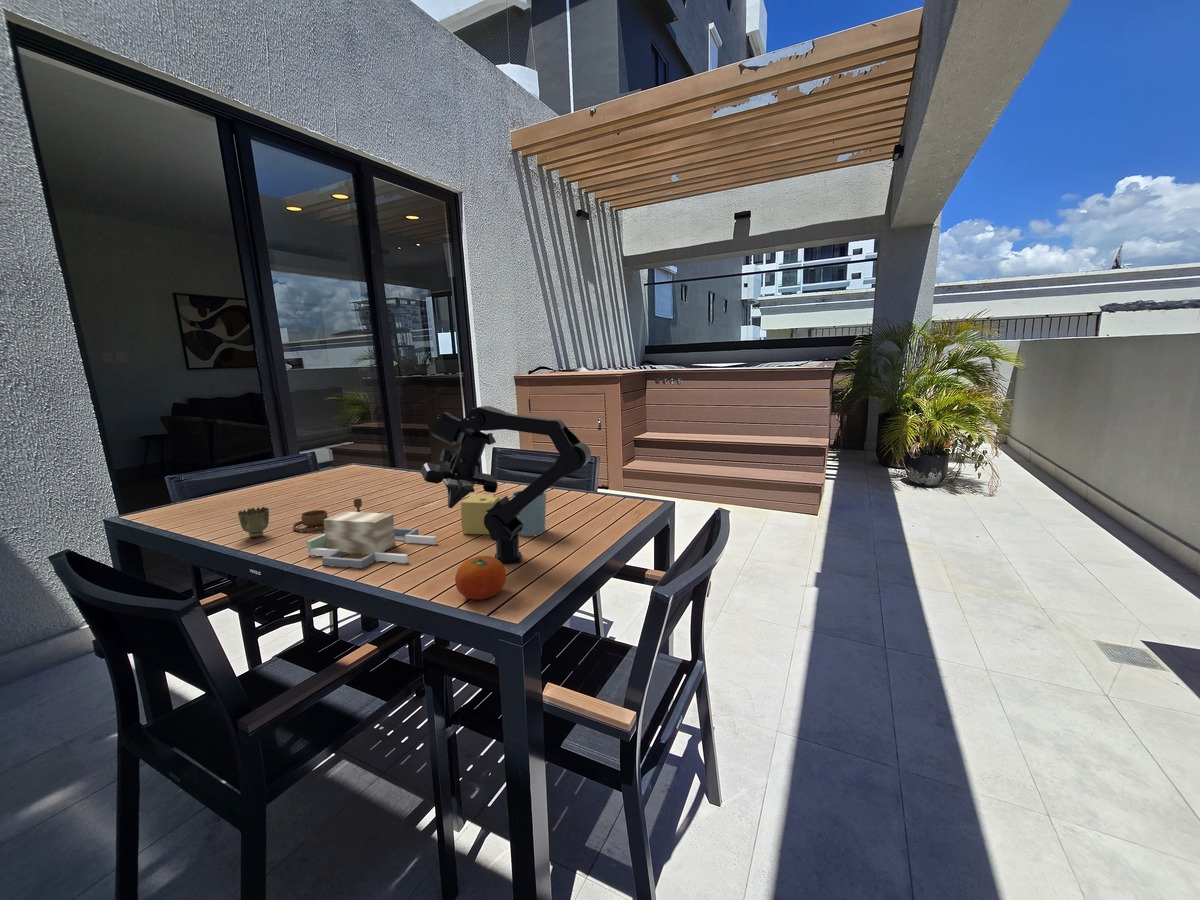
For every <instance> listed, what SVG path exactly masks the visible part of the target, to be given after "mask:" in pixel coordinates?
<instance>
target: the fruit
mask: <svg viewBox="0 0 1200 900" xmlns="http://www.w3.org/2000/svg"><path fill="white" fill-rule="evenodd" d="M506 580H507V571H506V567H505V566H504V563H503V564H502V562H501V561H499V560H498V559H496V558H495V556H491V555H478V556H474V557H471V558H468V559H466V560H465V561H463V562H462V563H461V564H460V565H459V566H458V569H457V570H456V573H455V577H454V582H455V586H456V590H457V591H458V592H459V594H461V595H462V596H463V597H465V598H467V599H468V600H470V599H471V600H485V599H488V598H491V597H493V596H495V595H496V594H498V593H499V592H500V591H501V590H502V589H503V587H504V586H505V583H506Z"/></svg>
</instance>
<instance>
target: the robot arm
mask: <svg viewBox="0 0 1200 900" xmlns="http://www.w3.org/2000/svg"><path fill="white" fill-rule="evenodd" d="M497 430H498V431H499V430H501V431H503V430H507V431H512V432H513V431H515V432H521V433H527V434H528V433H529V434H537V435H544V436H549V438H550V440H551V442H552V443H553V446H554V447H555V449H556V451H557V453H559V455H558V457H557V458H556V460H555V461H554V463H553V464H552V465H551V466H550V467H549V468H548V469H547V470H545V471H544V472H543V473H541V475H540V476H539V477H537V478H536V479H535V480H533V481H532V482H531V483H530V484H528V485H527V486H526V487H525V488H524V489H522V490H520V491H521V492H520V493H519V494H518V495H516V496H515V497H514V498H512V497H511V499H510V498H509V497H508V495H505V496H504V497H502V498H500V500H499V501H498V502H497V503H496V504H495V505H494V506H492V507H491V508H489V509H488V510H486V512H488V513H487V514H486V515H485V517H484V525H485V527H486V529H487V530H488V531H489V534H488V535H490V538H491V540H492V541H493V542H495V551H496V552H495V553H494V554H495V555H494V558H496V559H498V560H499V561H501V562H502V564H503V565H504V564H513V563H514V564H517V563H521V561H522V557H521V556H522V555H521V554H522V552H521V551H520V536H519V535H518V533H519V532H521V531H522V528H523V523H522V522H521V521H520V520H519V519H518V518H517V516H518V515H519V514H520V512H521V511H522V510H523V508H524V507H526V506H527V505H528V504H529V503H531V502H532V501H533V500H534V499H536V498H537V497H538V496H539V495H541V494H542V493H543V492H544V491H545V492H546V491H547V490H548V489H549V488H550V487H552V486H553V485H554V484H556V483H557V482H558V481H559V480H561V479H563V478H565V477H567V476H568V475H570V474H572V473H574V472H576V471H578V470H580V469H582V468H583V467H584V466H585V465H586V464H587V463H589V462H590V461H591V458H592V457H591V456H592V451H591V449H590V446H588V445H587V444H586V443H584V442H581V439H579V438H578V437H577V435H576V434H575V433H574V432H573V431H571V430H570V428H568V427H567V425H566V424H565V423H564V421H563V420H562V419H559V418H554V419H553V418H545V417H537V416H529V415H524V414H523V415H522V414H515V413H510V412H506V411H505V410H502V409H500V408H497V407H494V406H490V405H483V406H478V407H477V406H476V407H473V408H472V409H471V410H470V411H469V412H468V414H467V416H465V417H464V418H462V419H460V418H459V417H456V416H454V415H453V414H451V413H449V412H446V411H445V412H442V414H441V416H440V417H439V418H438V419H437V420H436V422H435V423H434V424H433V426H432V429H431V435H432V436H433V437H434V438H436V439H438V440H441V441H443V442H444V443H447V444H449V445H451V446H456V445H457V444H459V445H460V446H459V448H458V450H456V451H455V452H454V454H452V450H451V449H445V448H443V449H442V450H441V453H440V457H439V461H440V462H445V464H444V465H445V466H447V468H448V470H450V471H447V470H443V469H442V467H441V465H440V464H436V463H431V462H425V463H424V464H423V465H422V466H421V468H420V473H421V475H422V477H423V480H424V481H425V482H427V483H432V484H437V485H438V484H441V483H442V482H443V483H444V485H445V487H446V488H447V507H448V508H449V509H452V508H454V507H455V506H456V505H458V503H459V502H460V501H461V500H462V499H464V498H465V497H466V496H468V495H470V493H475V488H474V487H475V485H479V486H483V487H482V488H483V490H484V492H487V493H492V494H495V493H496V492H497V489H498V486H499V485H498V482H497V480H496V479H495V477H494V476H493V475H492V474H488V473H484V472H479V473H478V474H477V476H475V474H476V471H477V468H478V467H479V468H480V466H481V464H482V463H481V459H482V455H483V453H484V450H485V447H486V445H488V446H490V445H493V444H496V443H497V441H496V439H495V437H494V435H493V432H490V433H486V431H487V432H488V431H497ZM483 431H485V432H483Z"/></svg>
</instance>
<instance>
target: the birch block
mask: <svg viewBox="0 0 1200 900" xmlns="http://www.w3.org/2000/svg"><path fill="white" fill-rule="evenodd" d="M328 517H329V516H328ZM323 526H324V528H325V533H324V534H325V539H326V549H340V550H341V552H347V553H346V554H352V553H366V554H371V553H375V552H380V553H381V552H382V553H384V552H386V551H387V550H389V549H391V548H393V547H394V546H396V541H395V533H394V528H395V521H394V513H382V512H381V513H380V512H363V511H360V512H357V511H342V512H339V513H338V514H335V515H332V516H330V517H329V518H327V519H324V524H323ZM392 546H393V547H392ZM390 547H391V548H390ZM388 548H389V549H388ZM386 549H387V550H386ZM385 550H386V551H385ZM383 551H384V552H383ZM366 554H365V555H366Z"/></svg>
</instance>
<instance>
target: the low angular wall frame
mask: <svg viewBox="0 0 1200 900" xmlns="http://www.w3.org/2000/svg"><path fill="white" fill-rule="evenodd" d="M394 533H395V542H404V543H405V544H406V543H408V544H417V545H418V544H422V545H437V536H431V535H419V528H405V527H404V528H403V527H394ZM306 544H307V545H306V546H307V556H308V555H318V556H325V557H321V563H322V564H321V565H323V564H324V565H334V566H341V567H340V568H346V567H354V568H353V569H358V568H363V567H365V566H366V565H368V564H370V563H371V562H373V561H375V560H377V561H375V562H379V561H387V562H386V563H392V562H397V563H396V564H405V563H406V564H407V563H409V556H408V554H405V553H393V552H392V553H391V552H382V553H380V552H375V553H371V554H369V555H366V556H364V557H362V558H350V557H349V558H348V557H342V554H343V553H341V550H340V549H326V539H325V533H322V534H320V535H318V536H316V537H314V538H311V539H309V540H307V541H306ZM341 557H342V558H341ZM373 563H374V562H373ZM371 564H372V563H371ZM371 564H370V565H371ZM368 566H369V565H368ZM366 567H367V566H366ZM366 567H365V568H366ZM363 569H364V568H363Z"/></svg>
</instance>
